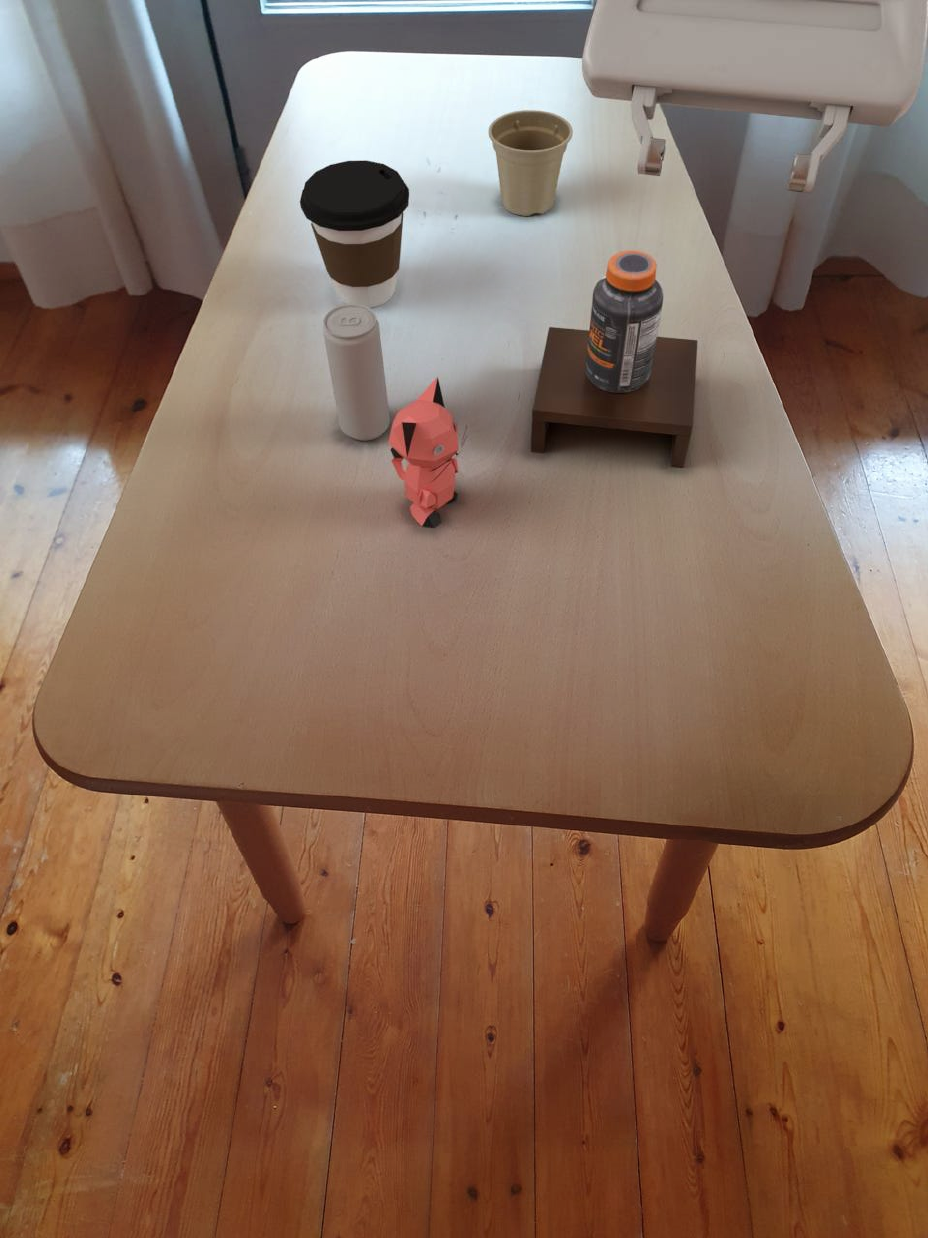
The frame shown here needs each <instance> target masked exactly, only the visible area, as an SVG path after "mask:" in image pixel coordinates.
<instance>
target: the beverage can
mask: <svg viewBox="0 0 928 1238" xmlns="http://www.w3.org/2000/svg"><path fill="white" fill-rule="evenodd" d="M322 321H323V325H322V333H323V339H324V344H325V349H326V350H325V351H326V355H327V362H328V369H329V373H330V380H331V385H332V390H333V397H334V402H335V408H336V414H337V418H338V419H337V420H338V425H339V428H340V430H341V431H342V432H343V433H344V434H345V435H346V436H347V437H349V438H351V439H353V440H356V441H360V442H367V441H373V440H376V439H378V438H379V437H381V436H382V435H383V434H384V433H386V431H387V429H388V428H389V427H390V424H391V417H390V409H389V400H388V399H389V398H388V392H387V383H386V374H385V366H384V365H385V364H384V357H383V349H382V340H381V339H382V338H381V331H380V323H379V321H378V319H377V315H376V313H375V311H374V310H373V309H372V308H368V307H366V306H364V305H360V304H346V303H344V304H342V305H339V306H338V305H337V306H336V307H334V308H332V309H330V310H329V311H327V313H326V314H325V315H324V318H323V320H322Z"/></svg>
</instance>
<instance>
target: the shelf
mask: <svg viewBox="0 0 928 1238" xmlns="http://www.w3.org/2000/svg"><path fill="white" fill-rule="evenodd" d="M588 338H589V330H587V329H577V328H564V327H556V326H555V327H554V326H549V327H548V332H547V335H546V341H545V346H544V351H543V356H542V361H541V366H540V370H539V376H538V380H537V386H536V391H535V394H534V401H533V405H532V412H531V435H530V436H531V437H530V452H532V453H541V454H543V453H545V447H546V442H547V436H548V430H549V426H550V425H549V424H550V423H557V424H567V425H577V426H587V427H596V428H603V429H605V428H606V429H615V430H624V431H625V430H626V431H635V432H645V433H654V434H665V435H671V436H672V439H671V451H670V467H674V468H681V469H682V468H685V463H686V460H687V455H688V451H689V445H690V442H691V437H692V432H693V428H694V417H695V416H694V415H695V414H694V413H695V396H696V395H695V393H696V375H697V357H698V356H697V355H698V340H697V339H688V338H677V337H676V338H675V337H665V336H657V340H656V345H655V351H654V357H653V363H652V369H651V374H650V378H649V380H648V381H647V382H646V383H645V384H644V385H643V386H642V387H640V388H638V389H636V390H634V391H630V392H624V393H616V392H609V391H606V390H603V389H601V388H599V387H597V386H595V385H594V384H593V383H592V382H591V381H590V380H589V379H588V377H587V374H586V371H585V367H586V357H587V348H588Z"/></svg>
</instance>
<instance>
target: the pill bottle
mask: <svg viewBox="0 0 928 1238" xmlns="http://www.w3.org/2000/svg"><path fill="white" fill-rule="evenodd" d="M656 275H657V263H656V260H655V259H654V257H652V255H650V254H648V253H646V252H643V251H640V250H633V249H632V250H631V249H629V250H622V251H619V252H616V253H614V254H613V255H612V256H611V257H610V258H609V259H608V262H607V267H606V273H605V275H604V276H603V277H601V278H600V279H599V280H598V282H596V284H595V286H594V288H593V291H592V298H591V299H592V300H591V308H590V309H591V310H590V321H589V338H588V348H587V357H586V367H585V371H586V374H587V377H588V379H589V380H590V381H591V382H592V383H593V384H594V385H595V386H597V387H599V388H601V389H603V390H606V391H609V392H616V393H624V392H630V391H634V390H636V389H638V388H640V387H642V386H643V385H644V384H645V383H646V382H647V381H648V380H649V378H650V374H651V369H652V363H653V357H654V351H655V345H656V340H657V337H658V334H659V329H660V323H661V315H662V310H663V304H664V297H665V296H664V291H663V287H662V286H661V284H660V282H658V280H657V279H656V278H657V277H656Z"/></svg>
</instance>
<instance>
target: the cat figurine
mask: <svg viewBox="0 0 928 1238" xmlns="http://www.w3.org/2000/svg"><path fill="white" fill-rule="evenodd" d="M467 428H468V425H466V426H465V430H464V433H463V436H462V439H461V440H462V441H461V446H463V445H464V443H465V441H466V439H467V438H468V435H466V431H467ZM458 434H459V433H458V428H457V422H455V421H454V418H453V416H452V414H451V412H450V411H448V410H447V409H446V408H445V403H444V399H443V395H442V389H441V384H440V381H439V376H436V377H435V379H433V381H431V383H430V384H429V385H428V387H427V388H426V389H425V390H424V391H423V392H422V393H421V394H420V395H419V396H418V398H417V399H415V400H413V401H412V402H410V403H409V404H407V405H406V406H405V407H403V408H402V409H400V410H399V411H397V413H396V415H395V417H394V419H393V421H392V424H391V428H390V434H389V438H388V445H390V447H391V448H390V449H389V450H390V453H391V454H392V457H393V458H392V459H391V463H392V465H393V467H394V469H395V471H396V474H397V475H398V478H399V479H401V480H402V481H403V483H404V491H405V497H406V499H408V500H409V501H411V502H412V504H411V505H410V506H409V509H410V513H411V516H412V517H413V519H414V520H415V521H417V523H418V524H419V525H420V526H421V527H423V528H433V529H434V528H436V527H437V526H439V525H440V524H442V519H441V515H440V513H439V512H438V511H437V510H436V509H440V508H441V507H442V506H444V505H446V506H447V505H449V504H452V503H454V502H457V499H458V492H456V491H455V486H456V474H457V473H459V464H458V459H457V457H458V456H459V453H461V452H462V450H460V451H459V435H458ZM465 435H466V437H465ZM464 437H465V438H464ZM458 451H459V452H458ZM403 460H406V461H407V465H406V467H405V471H404V467H403V463H402V461H403Z"/></svg>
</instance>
